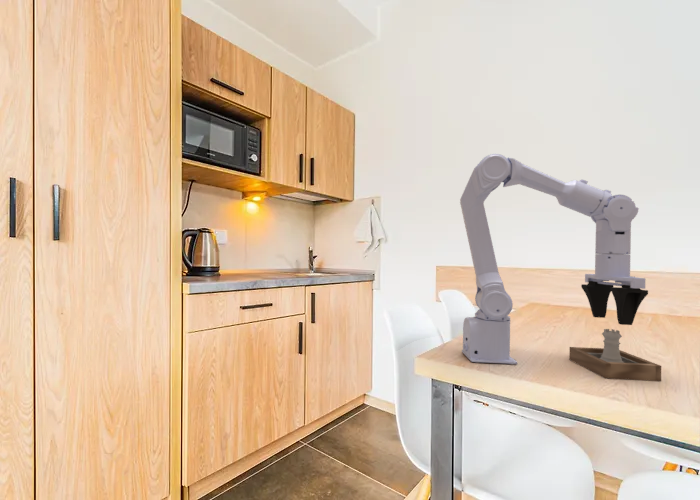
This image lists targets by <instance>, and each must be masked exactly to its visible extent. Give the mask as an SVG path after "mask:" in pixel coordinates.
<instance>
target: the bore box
mask: <svg viewBox="0 0 700 500" xmlns="http://www.w3.org/2000/svg"><path fill="white" fill-rule="evenodd" d="M603 350H604V347H603V348H601V347H583V346H582V347H581V346H579V347H578V346H569V353H568V354H569V355H568V356H569V359H568V360H570V361H572V362H573V363H575V364H577V365H579V366H581V367H583V368H584V369H587V370H588V371H590V372H593V373H594V374H596V375H598V376H600V377H602V378H604V379H614V380H633V381H634V380H635V381H652V382H653V381H656V382H662V365H660V364H658V363H655V362H652V361H650V360H647V359H645V358H641V357H639V356H636V355H634V354H632V353H629V352H626V351H623V350H621V349H619V351H620V356H621V358H622V361H623V362H624V363H620V362H606V361H604V360H602V359H599V358H601V355H602V354H603Z"/></svg>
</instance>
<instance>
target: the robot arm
mask: <svg viewBox="0 0 700 500" xmlns="http://www.w3.org/2000/svg"><path fill="white" fill-rule="evenodd" d="M588 182H589V181H588V180H585V179H579V180H577V179H573V180H570V181H566V182H565V181H563V180H560V179H558V178H556V177H554V176H551V175H549V174H548V173H544V172H542V171H540V170H538V169H535V168H534V167H531V166H528V165H526V164H524V163H522V162H521V161H519V160H517V159H516V158H513V157H510V156H509V157H506V156H505V155H503V154H500V153H490V154H488V155H485V156H484V157H483V158H482V160H480V161H479V163H477V165H476V166H475V167H474V168H473V170H472V172H471V175H470V177H469V178H468V181H467V183H466V186H465V187H464V190H463V192H462V194H461V197H460V199H459V200H460V201H459V203H460V204H459V205H460V207H461V214H462V217H463V223H464V227H465V232H466V235H467V241H468V246H469V250H470V255H471V260H472V264H473V268H474V274H475V285H476V293H475V297H474V300H475V305H476V307H477V308H478V309H477V311H475V313H474V316H471V317H469V316H467V317H465V318H464V320H463V323H462V324H463V325H462V349H461V352H462V353H463V354H464V356H465V357H466V358H467V359H468V360H469V361H470V362H471V363H472V362H473V363H484V364H485V363H491V364H510V365H511V364H512V365H517V364H518V361H517V360H515V359H514V358H513V357H511V355H510V353H511V351H510V349H511V316H509V315H510V314H511V312H512V309H513V305H514V303H513V300H512V298H511V296H510V294H509V293H508V292H507V291H506V289H505V286H504V281H503V279H502V277H501V276H500V273H499V269H498V262H497V259H496V255H495V250H494V246H493V241H492V236H491V235H492V234H491V232H490V228H489V221H488V218H487V214H486V208H485V205H484V203H485V201H486V199H487V198H488V197H489V196H490V195H491V194H492V192H493V191H494V190H496V189H497V188H499V186H500V185H501V183H503V186H502V187H503V188H507V187H511V186H517V185H520V186H521V185H522V186H524V187H526V188H530V189H532V190H536V191H539V192H541V193H543V194H547V195H550V196H552V197H555V198H556V200H557V202H558V204H559V206H562V207H564V208H566V209H569V210H572V211H575V212H577V213H579V214H583V215H584V216H587V217H589V218H590V219H591V220H592V222H594V224H595V251H594V252H595V255H594V258H595V259H594V261H595V262H594V273H585V274H584V283H586V284H582V283H581V285H580V286H581V289H582V290H583V292H584V294H585V296H586V297H587V300H588V304H589V306H590V307H589V308H590V310H591V311H590V312H591V314H592V317H593V318H599V319H601V318H604V319H605V318H606V315H607V310H608V302H609V298H610V294H611V293H612V295H613V299H614V302H615V306H616V308H615V309H616V320H617V323H618V325H622V326H633V323H634V320H635V318H636V315H637V312H638V309H639V308H640V306H641V304H642V302H643V301H644V300H645V298H646V297H647V296H648V295H649V290H647V289H646V278H645V277H638V276H637V277H636V276H631V246H632V245H631V244H632V243H631V242H632V241H631V240H632V239H631V237H632V236H631V235H632V234H631V233H632V230H631V229H632V221H633V220H634V219H635V218H636V217H637V215H638V212H639V209H640V208H639V207H637V206H636V203H635V201H633V200H632V198H631V197H630V196H628V195H625V194H615V195H612V191H611V190H609V189H604V190H603V189H600V188H598V187H595V186H592V185H590V184H588ZM610 281H613V282H610ZM614 286H615V287H614Z"/></svg>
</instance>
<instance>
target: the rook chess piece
mask: <svg viewBox="0 0 700 500" xmlns="http://www.w3.org/2000/svg"><path fill="white" fill-rule="evenodd" d="M620 332H621V331H620V330H618V329H616V330H615V329H614V328H613V329H612V328H611V330H610V329H609V328H604V329H603V331H602V333H601V335H602V336H603V338H604V340H603V344H604V345H603V348H604V350H603V354H602V355H601V358H599V359H602V360H604V361H606V362H620V363H624V362H623V361H622V358H621V356H620V351H619V350H620V345H621V342H620V339H621V338H622V335H621V333H620Z"/></svg>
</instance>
